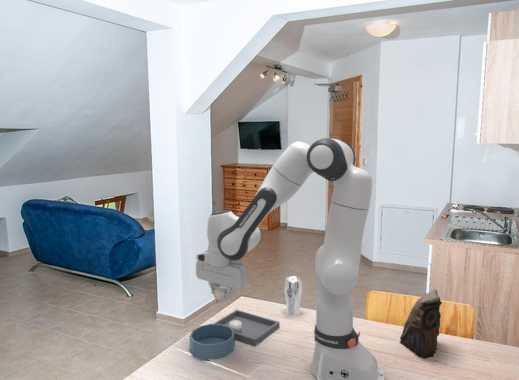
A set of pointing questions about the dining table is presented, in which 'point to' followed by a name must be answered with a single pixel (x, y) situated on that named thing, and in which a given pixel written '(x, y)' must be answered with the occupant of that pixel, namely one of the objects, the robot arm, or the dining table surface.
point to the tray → (251, 326)
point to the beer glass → (293, 295)
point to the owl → (423, 326)
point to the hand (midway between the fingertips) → (221, 295)
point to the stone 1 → (220, 293)
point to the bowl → (212, 341)
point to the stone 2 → (236, 325)
